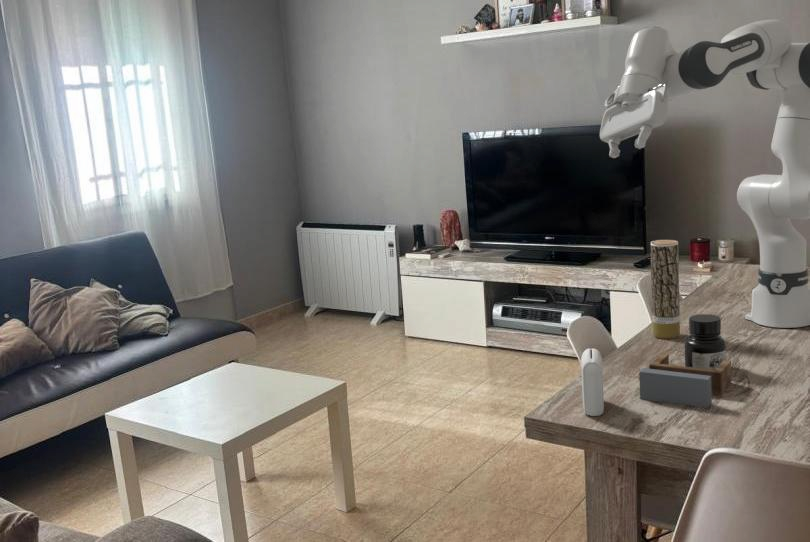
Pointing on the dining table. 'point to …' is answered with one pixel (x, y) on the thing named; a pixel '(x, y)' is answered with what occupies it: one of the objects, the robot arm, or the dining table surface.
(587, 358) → the photo printer
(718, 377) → the cradle
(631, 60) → the robot arm
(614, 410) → the dining table surface
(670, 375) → the wall
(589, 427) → the dining table surface
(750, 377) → the dining table surface
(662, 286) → the paper tube
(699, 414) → the dining table surface
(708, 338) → the ink bottle
